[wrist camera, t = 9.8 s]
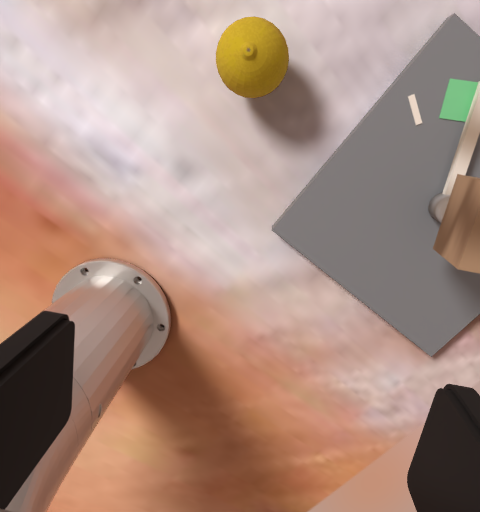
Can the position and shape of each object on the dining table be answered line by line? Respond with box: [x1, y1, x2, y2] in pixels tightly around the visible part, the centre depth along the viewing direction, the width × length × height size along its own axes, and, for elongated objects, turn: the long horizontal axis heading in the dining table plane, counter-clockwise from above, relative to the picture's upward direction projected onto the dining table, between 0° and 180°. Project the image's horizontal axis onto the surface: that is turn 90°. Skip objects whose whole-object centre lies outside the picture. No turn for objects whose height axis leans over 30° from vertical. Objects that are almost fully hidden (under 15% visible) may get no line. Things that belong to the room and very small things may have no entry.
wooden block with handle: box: [428, 81, 480, 273], centre depth 30 cm, size 13×2×9 cm, turn 170°
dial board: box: [272, 13, 480, 357], centre depth 37 cm, size 22×20×2 cm
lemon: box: [216, 17, 289, 98], centre depth 32 cm, size 6×6×8 cm
